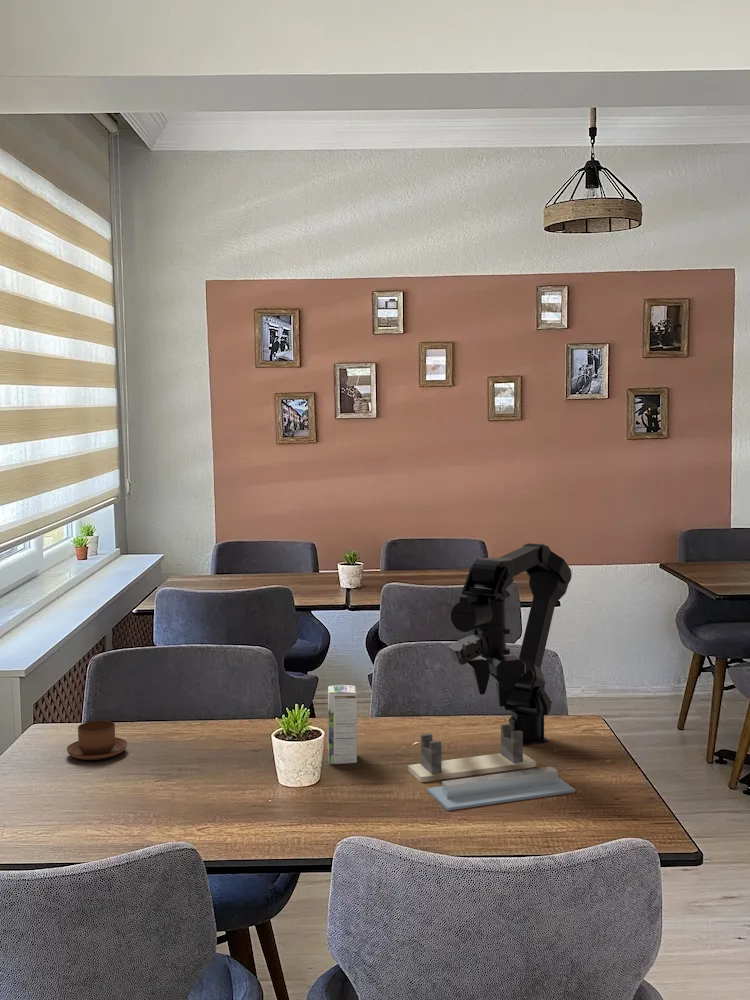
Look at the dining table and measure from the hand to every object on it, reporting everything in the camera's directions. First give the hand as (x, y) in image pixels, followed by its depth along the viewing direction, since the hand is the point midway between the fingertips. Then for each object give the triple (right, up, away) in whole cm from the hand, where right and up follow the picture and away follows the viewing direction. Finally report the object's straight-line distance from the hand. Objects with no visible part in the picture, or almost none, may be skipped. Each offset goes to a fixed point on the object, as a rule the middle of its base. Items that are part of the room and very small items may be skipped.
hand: (491, 700), depth 202 cm
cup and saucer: (-80, -13, +7) cm, 82 cm away
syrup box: (-30, -13, +2) cm, 32 cm away
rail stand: (-4, -12, -4) cm, 14 cm away
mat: (0, -13, -17) cm, 21 cm away
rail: (0, -13, -17) cm, 21 cm away
